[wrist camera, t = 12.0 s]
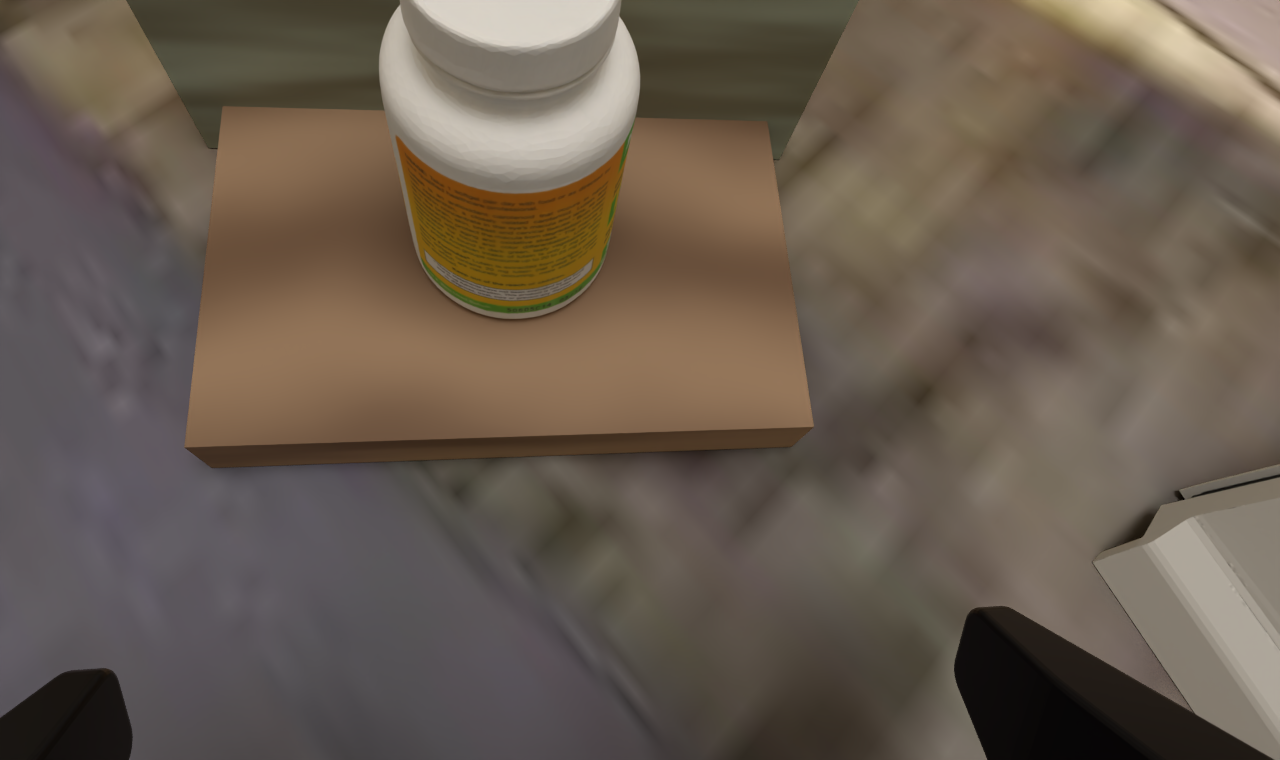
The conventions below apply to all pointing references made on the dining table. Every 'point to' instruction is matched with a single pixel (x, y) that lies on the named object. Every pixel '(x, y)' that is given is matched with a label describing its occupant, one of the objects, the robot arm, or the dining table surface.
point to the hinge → (1212, 600)
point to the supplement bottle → (510, 143)
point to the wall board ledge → (446, 331)
